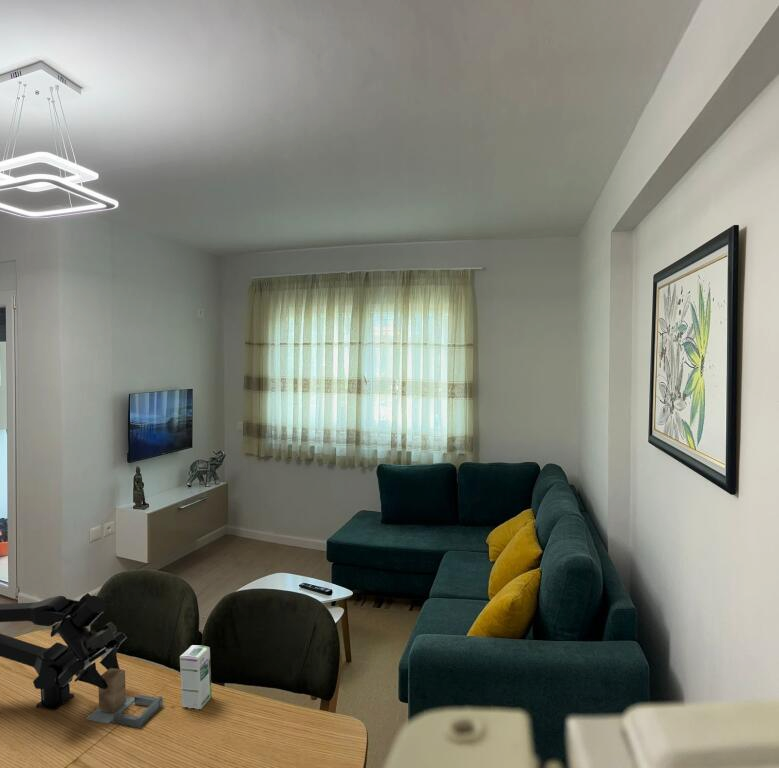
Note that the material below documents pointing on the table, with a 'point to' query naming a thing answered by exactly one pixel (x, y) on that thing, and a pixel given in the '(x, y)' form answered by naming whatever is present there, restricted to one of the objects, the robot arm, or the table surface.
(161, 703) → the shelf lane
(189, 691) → the syrup box
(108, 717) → the mat
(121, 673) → the walnut block
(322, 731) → the table surface
